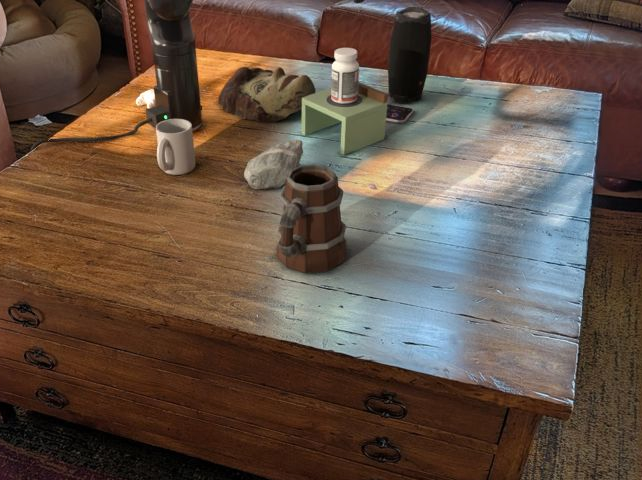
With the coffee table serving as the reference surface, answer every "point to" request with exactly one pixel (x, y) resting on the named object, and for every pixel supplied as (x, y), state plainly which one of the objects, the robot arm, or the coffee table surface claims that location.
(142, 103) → the astronaut figurine
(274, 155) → the decorative stone
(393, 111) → the smartphone
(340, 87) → the pill bottle
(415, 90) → the portable speaker
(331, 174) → the mug
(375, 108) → the green footstool with circle
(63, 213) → the coffee table surface
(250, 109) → the sculpture
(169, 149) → the cup
